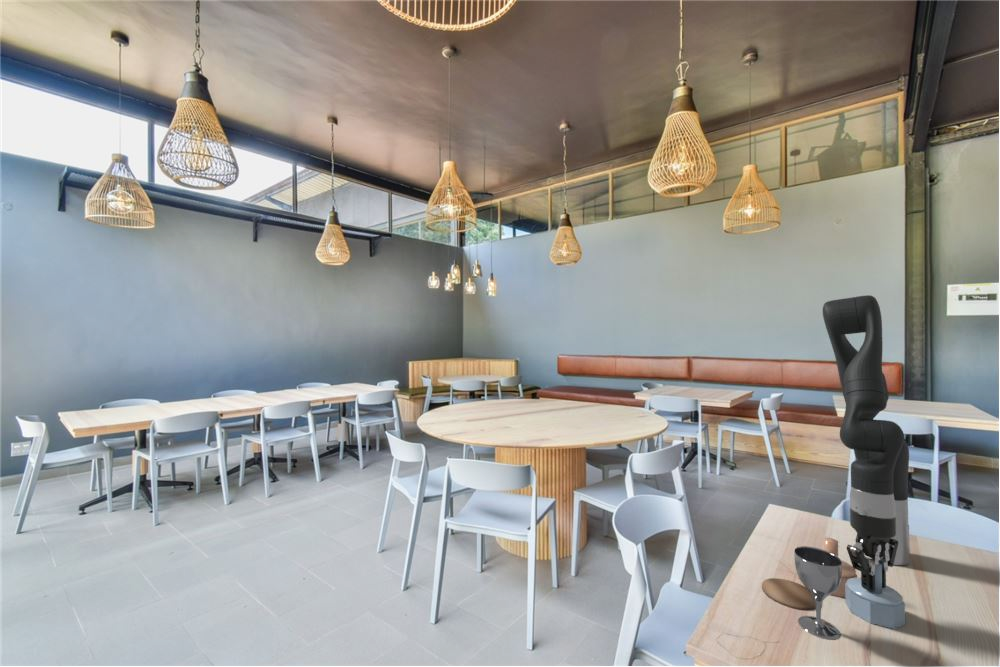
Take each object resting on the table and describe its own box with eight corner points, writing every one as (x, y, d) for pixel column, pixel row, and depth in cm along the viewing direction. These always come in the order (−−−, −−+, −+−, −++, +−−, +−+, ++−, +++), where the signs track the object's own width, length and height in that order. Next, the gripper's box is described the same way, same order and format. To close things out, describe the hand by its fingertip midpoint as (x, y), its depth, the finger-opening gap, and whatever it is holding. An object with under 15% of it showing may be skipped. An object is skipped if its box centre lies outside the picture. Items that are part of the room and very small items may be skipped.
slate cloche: (863, 596, 97) (863, 549, 97) (913, 621, 88) (912, 569, 88) (837, 604, 94) (836, 556, 94) (885, 632, 85) (884, 578, 85)
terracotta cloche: (824, 571, 107) (823, 529, 107) (865, 592, 98) (864, 545, 98) (799, 579, 104) (798, 534, 104) (839, 600, 95) (838, 552, 95)
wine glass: (852, 643, 82) (851, 568, 82) (807, 638, 84) (806, 564, 84) (829, 617, 90) (827, 548, 90) (788, 612, 92) (787, 544, 92)
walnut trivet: (783, 577, 105) (783, 574, 105) (830, 603, 95) (830, 600, 95) (751, 585, 101) (751, 583, 101) (795, 614, 91) (795, 611, 91)
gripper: (873, 499, 97) (874, 572, 97) (831, 507, 93) (833, 584, 92) (913, 511, 90) (915, 591, 90) (871, 521, 85) (872, 605, 85)
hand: (873, 587), depth 91 cm, fingers open, 3 cm apart
